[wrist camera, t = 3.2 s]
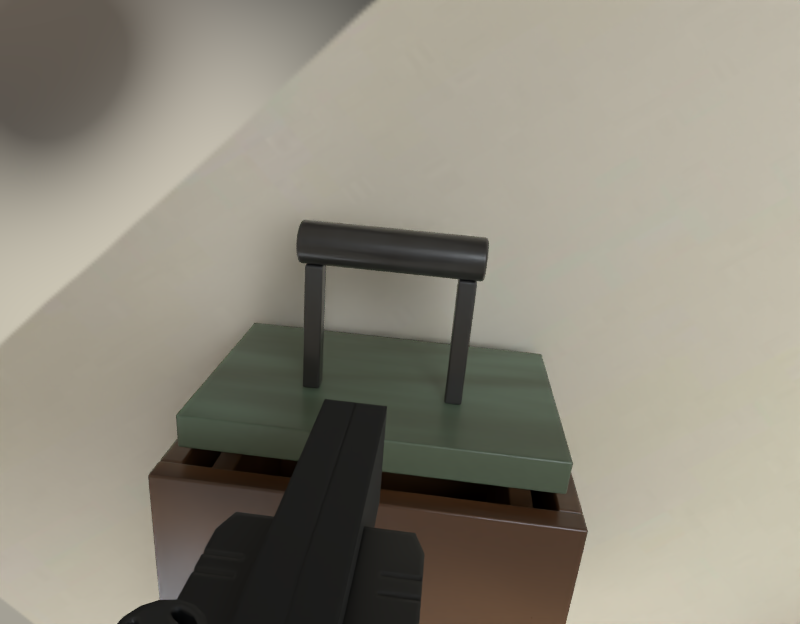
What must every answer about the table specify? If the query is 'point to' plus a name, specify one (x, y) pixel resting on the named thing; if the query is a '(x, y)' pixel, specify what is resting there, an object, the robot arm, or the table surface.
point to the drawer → (388, 383)
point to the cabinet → (402, 511)
